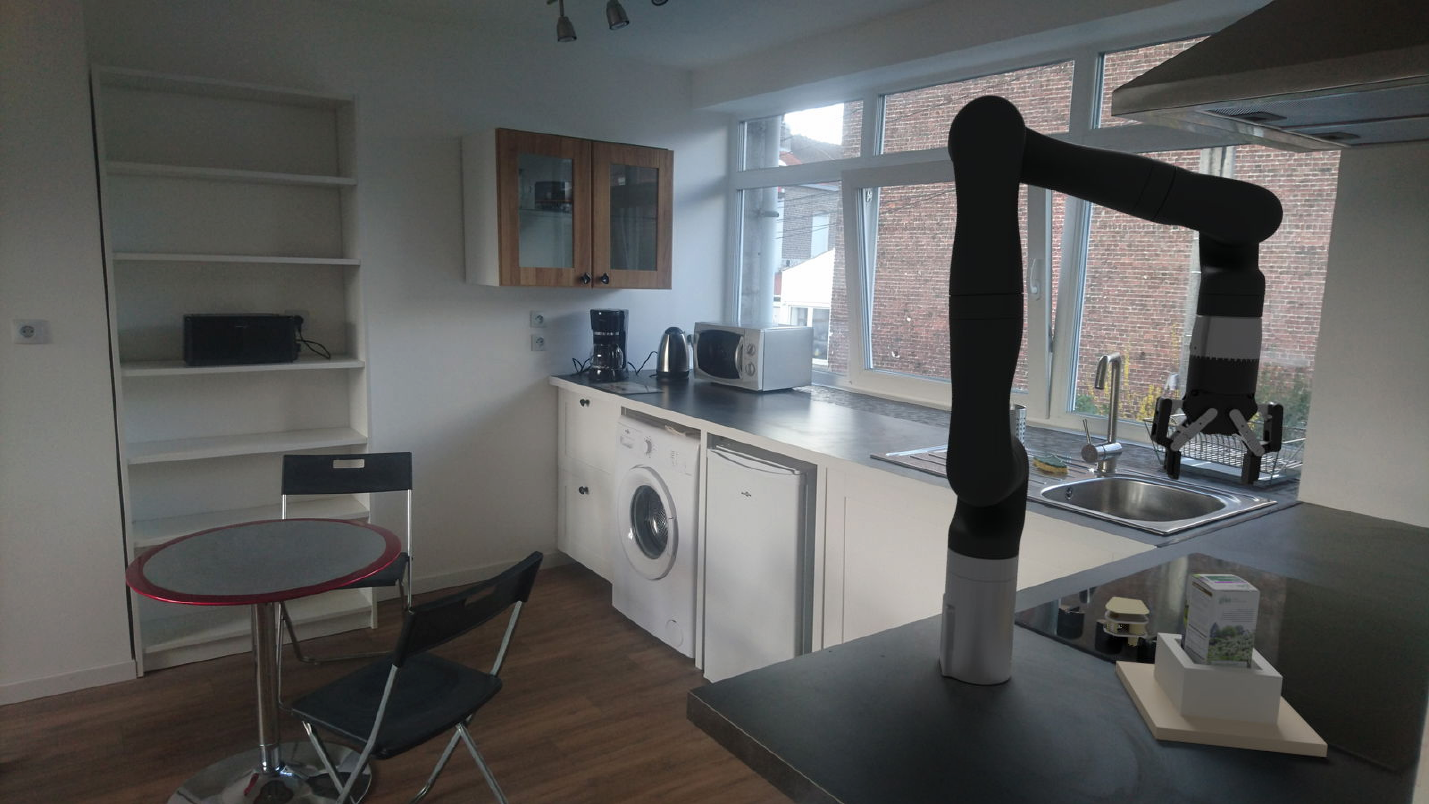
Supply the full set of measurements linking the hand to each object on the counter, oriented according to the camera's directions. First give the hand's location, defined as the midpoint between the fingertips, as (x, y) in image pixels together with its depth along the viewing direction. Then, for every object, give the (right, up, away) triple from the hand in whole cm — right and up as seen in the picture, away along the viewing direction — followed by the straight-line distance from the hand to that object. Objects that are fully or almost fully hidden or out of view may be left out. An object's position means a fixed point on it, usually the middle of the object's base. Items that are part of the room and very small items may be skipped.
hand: (1209, 481), depth 109 cm
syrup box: (0, -26, -1) cm, 26 cm away
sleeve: (0, -29, 0) cm, 29 cm away
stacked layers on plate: (-1, -26, +21) cm, 34 cm away
